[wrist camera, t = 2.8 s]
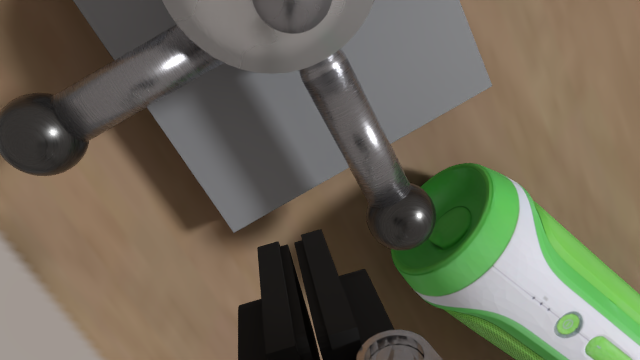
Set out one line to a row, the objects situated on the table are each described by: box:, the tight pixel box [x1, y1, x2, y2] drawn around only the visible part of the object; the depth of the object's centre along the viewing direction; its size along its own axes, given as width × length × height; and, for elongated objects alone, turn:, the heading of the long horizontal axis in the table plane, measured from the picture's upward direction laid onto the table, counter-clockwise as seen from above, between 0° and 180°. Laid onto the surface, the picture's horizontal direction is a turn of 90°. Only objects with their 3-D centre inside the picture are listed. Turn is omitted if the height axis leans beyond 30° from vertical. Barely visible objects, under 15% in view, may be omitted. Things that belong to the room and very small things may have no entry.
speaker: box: [391, 163, 640, 360], centre depth 25 cm, size 18×7×8 cm, turn 51°
